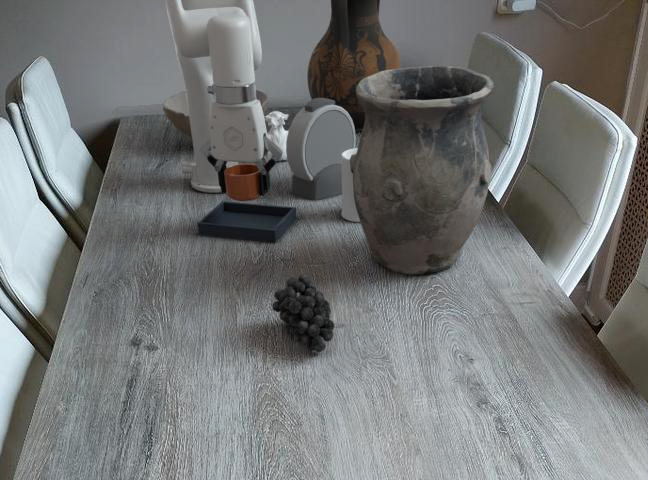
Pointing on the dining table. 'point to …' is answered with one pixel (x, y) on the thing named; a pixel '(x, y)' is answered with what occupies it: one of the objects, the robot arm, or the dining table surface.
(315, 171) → the alarm clock
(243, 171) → the small bowl
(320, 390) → the dining table surface
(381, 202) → the clay pot
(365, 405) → the dining table surface
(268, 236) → the tray
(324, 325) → the fruit
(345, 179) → the mug
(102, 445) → the dining table surface
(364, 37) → the vase
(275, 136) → the bust
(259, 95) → the bowl
